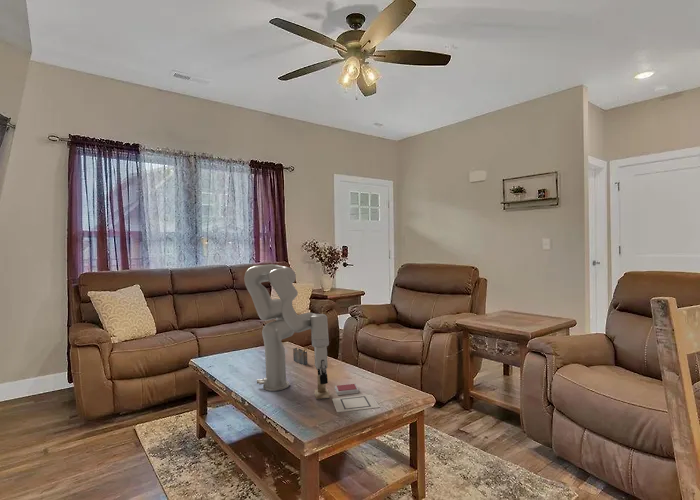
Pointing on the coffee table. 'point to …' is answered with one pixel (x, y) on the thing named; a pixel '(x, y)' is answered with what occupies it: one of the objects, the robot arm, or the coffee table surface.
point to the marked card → (355, 403)
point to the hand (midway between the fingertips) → (322, 380)
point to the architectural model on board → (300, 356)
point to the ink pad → (346, 389)
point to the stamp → (321, 390)
